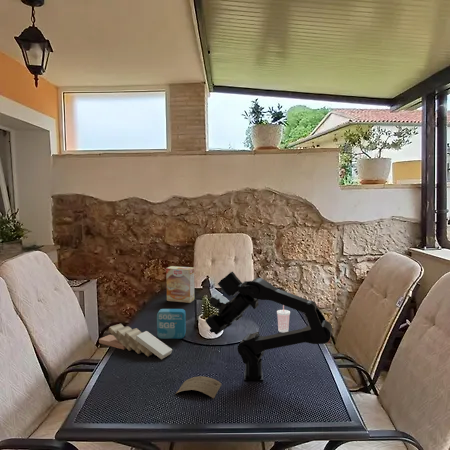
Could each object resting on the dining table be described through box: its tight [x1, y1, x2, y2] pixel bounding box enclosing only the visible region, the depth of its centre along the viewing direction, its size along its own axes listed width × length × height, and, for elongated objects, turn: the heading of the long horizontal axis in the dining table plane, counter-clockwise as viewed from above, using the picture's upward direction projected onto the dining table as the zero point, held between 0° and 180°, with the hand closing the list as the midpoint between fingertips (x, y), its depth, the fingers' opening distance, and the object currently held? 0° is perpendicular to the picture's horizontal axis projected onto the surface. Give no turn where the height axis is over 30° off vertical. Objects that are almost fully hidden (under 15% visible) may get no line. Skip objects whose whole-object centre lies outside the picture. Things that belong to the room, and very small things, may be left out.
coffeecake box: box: [165, 265, 195, 304], centre depth 229 cm, size 15×7×20 cm, turn 73°
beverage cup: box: [276, 305, 291, 333], centre depth 179 cm, size 6×6×14 cm
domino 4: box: [135, 330, 173, 360], centre depth 155 cm, size 2×6×14 cm
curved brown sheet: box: [176, 375, 223, 399], centre depth 127 cm, size 14×10×3 cm
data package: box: [156, 308, 187, 340], centre depth 172 cm, size 12×4×12 cm, turn 89°
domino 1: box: [108, 323, 134, 352], centre depth 163 cm, size 2×6×14 cm
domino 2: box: [116, 325, 143, 354], centre depth 160 cm, size 2×6×14 cm
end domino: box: [98, 334, 127, 350], centre depth 165 cm, size 2×6×14 cm
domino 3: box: [125, 327, 155, 357], centre depth 157 cm, size 2×6×14 cm
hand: (210, 331), depth 142 cm, fingers closed
